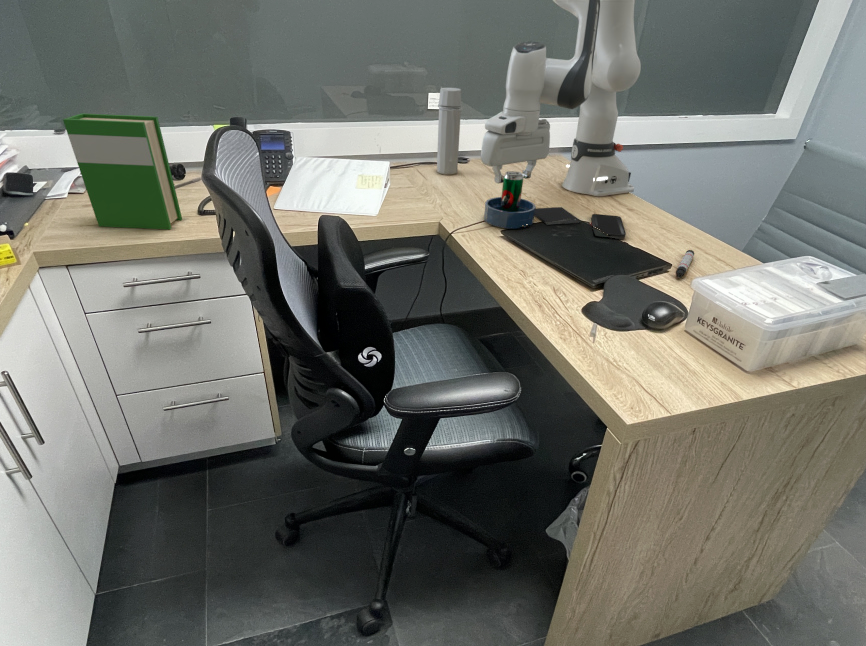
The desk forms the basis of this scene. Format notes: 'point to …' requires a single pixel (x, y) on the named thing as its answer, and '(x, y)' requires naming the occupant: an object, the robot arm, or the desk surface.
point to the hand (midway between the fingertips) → (512, 180)
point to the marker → (684, 263)
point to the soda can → (511, 191)
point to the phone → (609, 225)
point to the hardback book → (124, 170)
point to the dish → (509, 214)
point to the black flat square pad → (553, 214)
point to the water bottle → (448, 130)
